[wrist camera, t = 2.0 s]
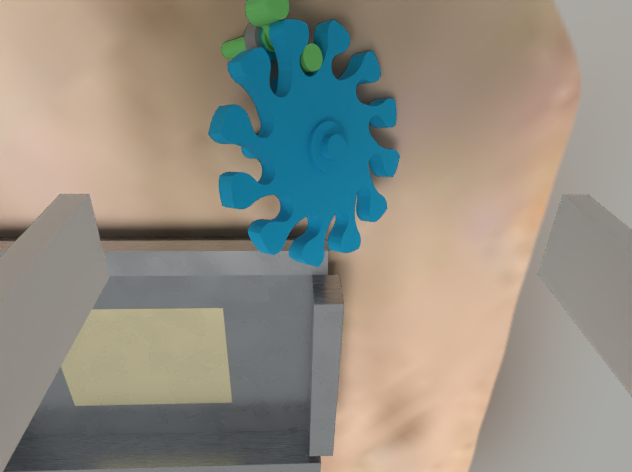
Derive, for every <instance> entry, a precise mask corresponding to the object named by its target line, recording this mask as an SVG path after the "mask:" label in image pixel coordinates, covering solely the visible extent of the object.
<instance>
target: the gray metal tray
mask: <svg viewBox="0 0 632 472" xmlns="http://www.w3.org/2000/svg"><path fill="white" fill-rule="evenodd" d="M296 238H298V237H287V239H286V242H285V245H284V247H283V248H282V250H281V251H280V252H279V253H277V254H275V255H270V254H266V253H262V252H260V251H259V250H258V249H257V248H256V247H255V245H254V244H253V243H252V241H251V239H250V237H190V238H100V241H101V245H102V249H103V253H104V257H105V262H106V266H107V270H108V274H109V279H108V281H107V283H106V285H105V286H104V288H103V290H102V292H101V294H100V295H99V297H98V299H97V301H96V303H95V305H94V306H93V308H92V310H91V312H90V314H89V316H88V317H87V319H86V321H85V323H84V325H83V326H82V328H81V330H80V332H79V334H78V336H77V337H76V339H75V341H74V343H73V345H72V347H71V348H70V350H69V352H68V354H67V356H66V357H65V359H64V361H63V363H62V365H61V367H60V368H59V370H58V372H57V374H56V376H55V378H54V379H53V381H52V383H51V385H50V387H49V388H48V390H47V392H46V394H45V396H44V398H43V399H42V401H41V403H40V405H39V407H38V409H37V410H36V412H35V414H34V416H33V418H32V419H31V421H30V423H29V425H28V427H27V429H26V430H25V432H24V434H23V436H22V438H21V440H20V441H19V443H18V445H17V447H16V449H15V450H14V452H13V454H12V456H11V458H10V460H9V461H8V463H7V465H6V467H5V469H4V471H3V472H320V469H321V458H320V456H333V447H334V433H335V419H336V406H337V392H338V378H339V365H340V351H341V337H342V324H343V310H344V301H343V295H342V288H341V281H340V275H328V257H329V248H328V240H325V243H324V252H325V253H324V259H323V262H322V264H321V265H320V266H319V267H317V266H312V265H308V264H304V263H300V262H297V261H295V260H293V259H291V258H290V257H289V248H290V246H291V244H292V242H293V241H294V240H295V239H296ZM17 239H18V238H0V257H1V256H2V255H3V254H4V253H5V252H6V251H7V250H8V249H9V248H10V247H11V246H12V245H13V243H14V242H15V241H16V240H17Z"/></svg>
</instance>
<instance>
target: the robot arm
mask: <svg viewBox="0 0 632 472" xmlns="http://www.w3.org/2000/svg"><path fill="white" fill-rule="evenodd" d="M538 276H539V277H540V278H541V280H542V281H543V282H544V283H545V285H546V286H547V287H548V289H549V290H550V291H551V293H552V294H553V295H554V296H555V298H556V299H557V300H558V302H559V303H560V304H561V306H562V307H563V308H564V309H565V311H566V312H567V313H568V315H569V316H570V317H571V318H572V320H573V321H574V322H575V324H576V325H577V326H578V328H579V329H580V330H581V331H582V333H583V334H584V335H585V337H586V338H587V339H588V341H589V342H590V343H591V344H592V346H593V347H594V348H595V350H596V351H597V352H598V353H599V355H600V356H601V357H602V359H603V360H604V361H605V363H606V364H607V365H608V366H609V368H610V369H611V370H612V372H613V373H614V374H615V375H616V377H617V378H618V379H619V381H620V382H621V383H622V385H623V386H624V387H625V389H626V390H627V391H628V392H629V394H630V395H631V396H632V229H630V228H629V227H628V226H627V225H626V224H624V223H623V222H622V221H621V220H619V219H618V218H617V217H616V216H614V215H613V214H612V213H611V212H609V211H608V210H607V209H606V208H605V207H603V206H602V205H601V204H600V203H598V202H597V201H596V200H595V199H593V198H592V197H591V196H590V195H562V198H561V201H560V204H559V208H558V211H557V214H556V217H555V220H554V223H553V226H552V230H551V233H550V236H549V239H548V242H547V245H546V248H545V251H544V255H543V258H542V261H541V264H540V267H539V270H538ZM108 279H109V274H108V270H107V266H106V262H105V257H104V253H103V249H102V245H101V241H100V237H99V232H98V228H97V224H96V220H95V216H94V211H93V207H92V203H91V199H90V195H89V194H60V195H59V196H58V197H57V198H56V199H55V200H54V201H53V202H52V203H51V204H50V205H49V206H48V207H47V208H46V209H45V210H44V212H43V213H42V214H41V215H40V216H39V217H38V218H37V219H36V220H35V221H34V222H33V223H32V224H31V225H30V226H29V227H28V229H27V230H26V231H25V232H24V233H23V234H22V235H21V236H20V237H19V238H18V239H17V240H16V241H15V242H14V243H13V245H12V246H11V247H10V248H9V249H8V250H7V251H6V252H5V253H4V254H3V255H2V256H1V257H0V472H3V471H4V469H5V467H6V465H7V463H8V461H9V460H10V458H11V456H12V454H13V452H14V450H15V449H16V447H17V445H18V443H19V441H20V440H21V438H22V436H23V434H24V432H25V430H26V429H27V427H28V425H29V423H30V421H31V419H32V418H33V416H34V414H35V412H36V410H37V409H38V407H39V405H40V403H41V401H42V399H43V398H44V396H45V394H46V392H47V390H48V388H49V387H50V385H51V383H52V381H53V379H54V378H55V376H56V374H57V372H58V370H59V368H60V367H61V365H62V363H63V361H64V359H65V357H66V356H67V354H68V352H69V350H70V348H71V347H72V345H73V343H74V341H75V339H76V337H77V336H78V334H79V332H80V330H81V328H82V326H83V325H84V323H85V321H86V319H87V317H88V316H89V314H90V312H91V310H92V308H93V306H94V305H95V303H96V301H97V299H98V297H99V295H100V294H101V292H102V290H103V288H104V286H105V285H106V283H107V281H108Z"/></svg>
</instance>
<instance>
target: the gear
mask: <svg viewBox="0 0 632 472" xmlns="http://www.w3.org/2000/svg"><path fill="white" fill-rule="evenodd" d="M245 13H246V16H247V18H248V20H249V21H250V23H249V24H248V26H247V27H246V30H245V34H244V37H240V38H237V39H234V40H231V41H227V42H224V43H223V44H222V47H221V52H222V54H223V56H224V57H225V58H226V59H232V60H231V61H230V62H229V63H228V64H227V66H228V71H229V74H230V76H231V77H232V79H233V80H234V81H235V82H237V83H238V84H239V85H241V86H242V87H243V88H244V89H245V90H246V91H247V93H248V94H249V95H250V97H251V98H252V100H253V102H254V104H255V106H256V109H257V112H258V115H259V118H260V122H261V129H260V132H259V134H258V135H256V134H255V132H254V131H253V128H252V125H251V122H250V119H249V117H248V114H247V113H246V111H245V110H244V109H243V108H242V107H240V106H238V105H226V106H219V108H218V109H217V110H216V112H215V114H214V116H213V118H212V121H211V125H210V129H209V133H208V134H209V136H210V137H211V138H212V139H213V140H214V141H215V142H217V143H221V144H236V145H239V146H241V149H242V152H243V154H244V156H245V157H247V158H257V159H258V160H259V162H260V163H261V165H262V176H261V178H260V180H259V181H258V182H257V181H256V180H255V179H254V178H253V177H252V176H250V175H249V174H247V173H242V172H225V173H223V174H221V175H220V178H219V192H220V198H221V202H222V206H225V207H229V208H236V209H245V208H248V207H249V206H251V205H252V204H253V203H254V202H255V201H257V200H258V199H260V198H262V197H264V196H267V195H275V196H277V198H278V199H279V201H280V205H281V208H280V212H279V214H278V216H277V217H276V218H275V219H272V220H264V219H259V220H256V221H254V222H253V223H252V224H251V225H250V227H249V228H248V235H249V237H250V239H251V241H252V243H253V244H254V245H255V247H256V248H257V249H258V250H259V251H260V252H262V253H266V254H270V255H275V254H277V253H279V252H280V251H281V250H282V248H283V247H284V245H285V242H286V239H287V237H288V235H289V233H290V231H291V230H292V228H293V227H294V226H295V225H296V224H297V223H298V222H299V221H300V220H302V219H303V218H305V217H307V220H308V226H307V229H306V231H305V232H304V234H302V235H301V236H299V237H298V238H296V239H295V240H294V241H293V242H292V244H291V246H290V248H289V257H290V258H291V259H293V260H295V261H297V262H300V263H304V264H308V265H312V266H317V267H319V266H320V265H321V264H322V262H323V259H324V253H325V252H324V243H325V236H326V232H327V229H328V226H329V224H330V222H331V220H332V218H333V217H334V215H335V216H336V220H335V224H334V226H333V228H332V230H331V232H330V234H329V237H328V247H329V249H330V250H333V251H338V252H342V253H349V252H352V251H355V250H356V249H358V248H359V247H360V242H361V238H360V234H359V232H358V230H357V226H356V222H355V201H356V195H357V206H356V212H357V216H358V217H359V219H360V220H362V221H370V222H376V221H377V220H378V219H379V218H381V216H382V215H383V214H384V212H385V211H386V209H387V202H386V200H385V198H384V197H383V196H382V195H380V194H379V193H378V192H377V190H376V189H375V187H374V185H373V183H372V180H371V176H370V172H369V162H370V167H371V170H372V172H373V174H374V175H376V176H382V177H393V176H394V174H395V172H396V169H397V166H398V162H399V158H400V156H399V153H398V152H397V151H396V150H394V149H385V148H382V147H381V146H380V145H378V143H377V142H376V141H375V140H374V138H373V137H372V136H371V134H370V132H369V122H370V124H371V125H372V126H373V127H375V128H385V127H393V126H395V124H396V102H395V100H394V99H392V98H388V99H379V100H374V101H372V102H371V103H370V104H369V105H366V104H363V103H361V102H360V101H359V100H358V98H357V95H356V86H357V84H365V83H372V82H376V81H378V80H379V78H380V76H381V71H380V67H379V63H378V61H377V58H376V56H375V54H374V52H373V51H368V52H363V53H358V54H355V55H353V56H352V58H351V59H350V62H349V65H348V67H347V69H346V70H345V72H344V73H343V74H342V75H341V76H340V77H339V78H337V79H336V78H335V76H334V75H333V72H332V67H331V64H332V60H333V58H334V57H335V56H336V55H337V54H340V53H343V52H345V51H346V50H347V48H348V47H349V44H350V35H349V34H348V32H347V31H346V29H345V28H344V27H343V26H342V25H341V24H339V23H338V22H337V21H335V20H334V19H333V20H329V21H326V22H322V23H319V24H318V25H317V26H316V28H315V31H314V43H310V44H307V43H308V40H309V29H308V26H307V23H305V22H303V21H301V20H296V19H286V20H282V19H284V18H286V17H287V15H288V13H289V1H288V0H247V2H246V5H245ZM279 20H282V21H279Z"/></svg>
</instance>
